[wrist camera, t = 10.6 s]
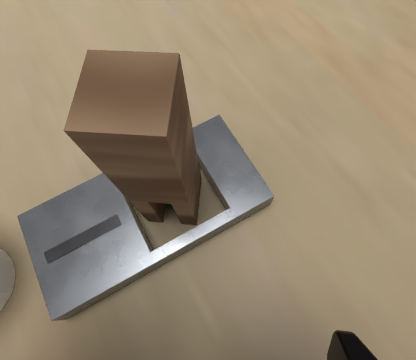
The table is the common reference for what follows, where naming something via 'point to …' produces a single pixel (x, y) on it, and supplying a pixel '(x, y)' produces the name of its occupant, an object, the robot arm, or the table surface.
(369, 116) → the table surface
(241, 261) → the table surface
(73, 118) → the brown block
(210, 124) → the metal plate with hole
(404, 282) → the table surface
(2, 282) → the white cup
